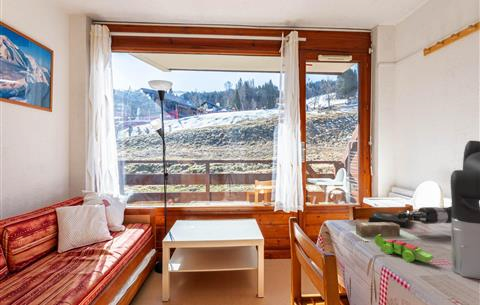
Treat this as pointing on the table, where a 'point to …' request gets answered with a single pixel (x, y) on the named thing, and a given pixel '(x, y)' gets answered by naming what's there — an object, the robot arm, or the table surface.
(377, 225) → the walnut block
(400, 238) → the sage mat
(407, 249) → the toy crocodile
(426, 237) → the table surface
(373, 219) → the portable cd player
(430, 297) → the table surface
